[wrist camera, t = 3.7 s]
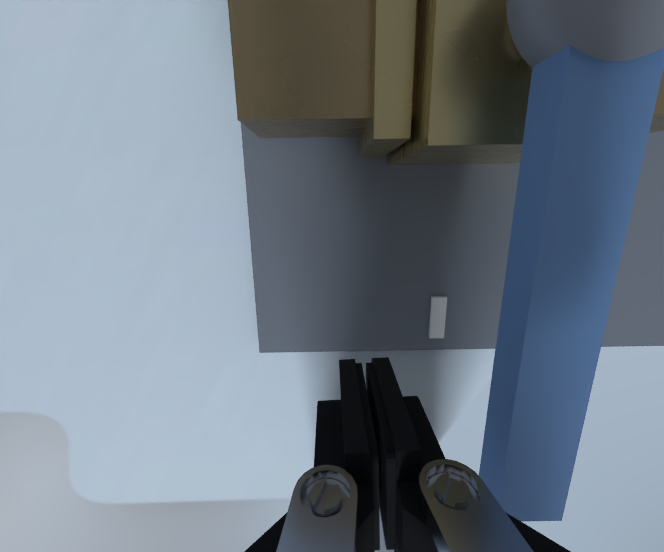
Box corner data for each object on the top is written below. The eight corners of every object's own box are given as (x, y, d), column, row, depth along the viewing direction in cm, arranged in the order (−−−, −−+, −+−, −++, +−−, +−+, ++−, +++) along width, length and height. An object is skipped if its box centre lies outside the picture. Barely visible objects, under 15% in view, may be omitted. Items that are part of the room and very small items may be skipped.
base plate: (235, -17, 14) (226, -36, 13) (759, -23, 14) (797, -42, 13) (263, 344, 19) (258, 354, 18) (660, 337, 19) (682, 346, 18)
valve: (260, 34, 15) (175, -166, 7) (640, 29, 15) (1024, -173, 7) (268, 168, 16) (207, 142, 8) (613, 163, 16) (898, 133, 8)
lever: (517, -109, 7) (567, -189, 5) (687, -112, 7) (780, -190, 5) (453, 486, 11) (472, 529, 9) (559, 484, 11) (593, 526, 9)
